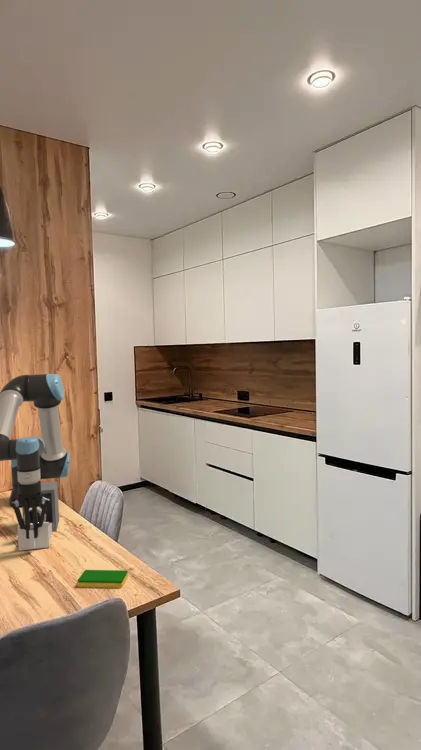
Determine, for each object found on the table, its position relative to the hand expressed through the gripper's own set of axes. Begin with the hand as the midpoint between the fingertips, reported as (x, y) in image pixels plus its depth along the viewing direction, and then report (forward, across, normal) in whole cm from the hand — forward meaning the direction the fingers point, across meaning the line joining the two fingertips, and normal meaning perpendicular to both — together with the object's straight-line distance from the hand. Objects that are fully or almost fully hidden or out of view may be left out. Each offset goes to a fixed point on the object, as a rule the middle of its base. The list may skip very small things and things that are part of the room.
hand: (32, 546), depth 168 cm
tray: (+2, 0, +11) cm, 11 cm away
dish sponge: (+3, +24, -28) cm, 37 cm away
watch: (+1, -1, +12) cm, 12 cm away
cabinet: (+2, 0, +25) cm, 25 cm away
